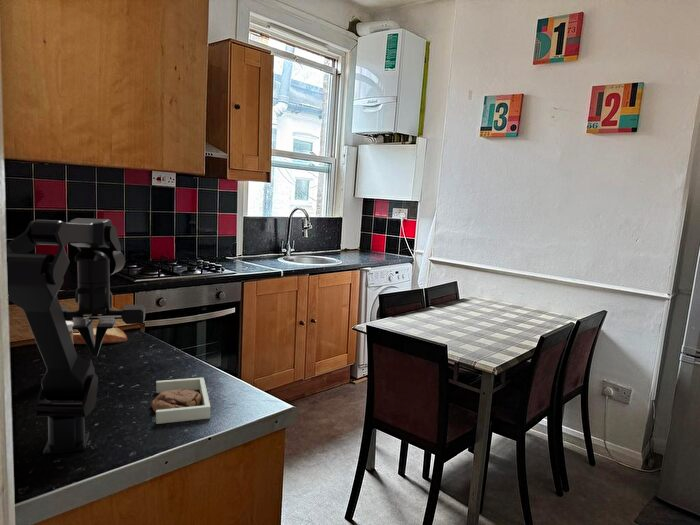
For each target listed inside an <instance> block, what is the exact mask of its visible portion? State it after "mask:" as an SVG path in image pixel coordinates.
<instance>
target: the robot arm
mask: <svg viewBox="0 0 700 525" xmlns="http://www.w3.org/2000/svg"><path fill="white" fill-rule="evenodd" d="M6 244H7V262H8V291H9V300H8V301H9V302H10V303H13V304H14V305H16V306H17V307H19V308H20V309H22V311H23V312H24V315H25V318H26V321H27V323H28V325H29V327H30V330H31V333H32V335H33V337H34V341H35V343H36V346H37V349H38V350H39V353H40V355H41V357H42V360H43V363H44V366H45V367H46V371H45V373H44V375H43V377H42V379H41V382H40V388H39V390H38V393H37V396H36V399H35V402H34V405H33V407H32V409H33V414H34V417H35V418H41V417H42V418H43V417H44V418H47V427H48V428H47V431H48V432H47V436H48V439H47V441H46V443H45V446H44V448H43V451H42V454H43V455H52V454H60V453H61V454H62V453H69V452H79V451H84V450H85V449H86V447H87V442H88V440H89V437H90V431H89V430H88V431H86V430H85V428H86V427H85V425H86V424H85V420H86V419H85V418H87V416H88V415H90V413H91V412H92V411H93V410H94V408H96V404H97V397H98V396H97V395H98V387H99V385H98V384H99V378H98V375H97V374H96V372H95V369H96V367H95V366H94V365H93V360H92V357H93V358H97V357H98V356H99V353H100V349H101V346H102V345H103V344H102V341H103V338H104V335H105V333H106V331H107V329H111V328H115V327H114V326H115V324H116V321H117V320H122V321H123V322H124V323H125V324H126V325H137V324H139V325H141V324H144V323H145V318H146V307H145V306H144V305H143V304H125V305H124V306H123V309H112V308H113V293H112V291H111V281H110V277H111V276H112V275H114V274H115V273H118V272H120V271H121V270H122V269H123V268H124V267H125V264H126V258H125V255H124V254H123V252H122V251H121V250H122V246H121V243H120V239H119V235H118V232H117V228H116V226H115V225H114V224H113V221H112V220H111V219H108V218H87V217H86V218H83V217H82V218H81V217H76V218H73V219H71V220H69V222H65V221H62V220H57V219H53V220H51V219H35V220H31V221H30V222H29V223H28V225H27V226H26V229H25V231H23V232H22V233H21V234H20V233H19V235H18V236H16V237H15V238H13V239H12V240H10V241H8V242H7V243H6ZM68 244H69V245H70V246H73V247H76V248H77V250H78V251H79V252H78V253H77V254H76V255H75V256H74V262H76V264H77V287H76V289H75V294H74V301H75V303H76V304H77V307H78V308H77V310H68V306H65V305H64V306H61V304H60V301H59V297H58V293H59V291H60V289H61V288H62V286H63V283H64V282H65V279H64V276H65V274H66V273H67V270H68V268H69V265H70V259H69V256H68V253H67V251H66V249H65V248H66V246H67V245H68ZM38 245H43V246H45V245H46V246H58V250H57V252H56V254H51V253H33V252H32V251H33V250H35V249H36V247H37V246H38ZM30 252H32V253H30ZM95 320H98V324H97V325H96V327H95V328H96V339H94V332H93V328H94V321H95ZM66 321H72V322H73V327H72V329H73V330H78V331H79V333H80V334H81V336H82V337H83V339H84V340H85V342H86V344H85V345H86V346H87V347H88V350H89V352H90V354H91V355H90V354H78V353H77V352H76V347H75V346H74V345H73V342H72V339H71V336H70V333H69V330H68V327H67V324H66ZM54 401H55V402H54ZM60 401H61V402H60ZM66 401H67V402H66ZM78 401H79V402H78ZM59 402H60V403H59Z"/></svg>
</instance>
